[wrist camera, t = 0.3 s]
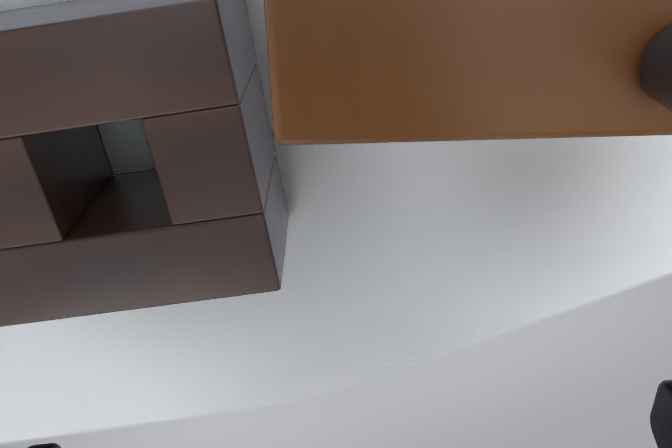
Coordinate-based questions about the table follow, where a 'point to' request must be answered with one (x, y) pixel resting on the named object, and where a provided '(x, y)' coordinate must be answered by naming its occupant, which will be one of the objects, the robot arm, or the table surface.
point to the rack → (141, 187)
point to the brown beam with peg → (467, 69)
